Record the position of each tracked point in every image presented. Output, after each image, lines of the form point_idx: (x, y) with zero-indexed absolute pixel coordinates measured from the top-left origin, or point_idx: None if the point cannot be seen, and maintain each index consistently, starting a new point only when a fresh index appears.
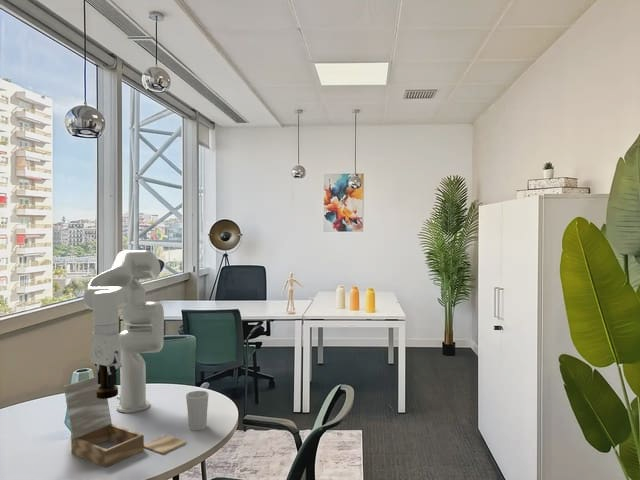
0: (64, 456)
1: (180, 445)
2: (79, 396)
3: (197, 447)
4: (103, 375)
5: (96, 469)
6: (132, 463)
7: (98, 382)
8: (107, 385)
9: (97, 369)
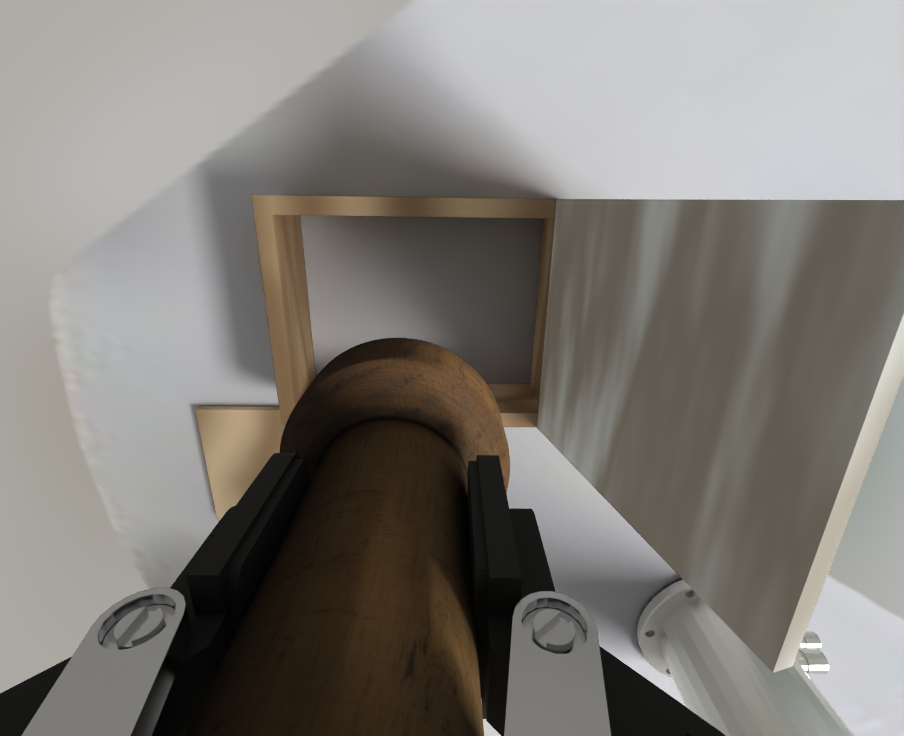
0: (559, 156)
1: (213, 490)
2: (721, 335)
3: (154, 512)
4: (313, 547)
5: (300, 156)
6: (225, 287)
7: (484, 464)
8: (276, 459)
9: (557, 636)
